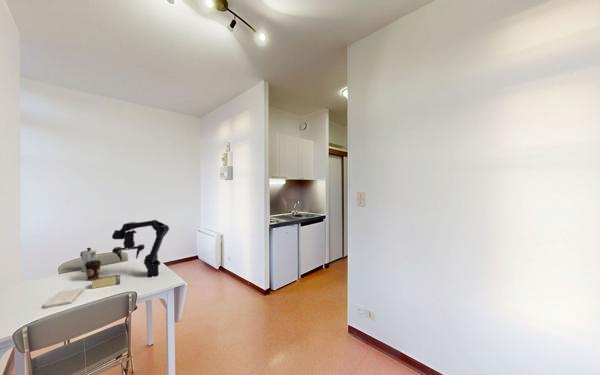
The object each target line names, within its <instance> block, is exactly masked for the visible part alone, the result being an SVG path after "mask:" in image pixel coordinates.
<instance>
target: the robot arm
mask: <svg viewBox="0 0 600 375" xmlns="http://www.w3.org/2000/svg"><path fill="white" fill-rule="evenodd" d="M145 227H151V228H153V230H154V231H155V235H156V237H155V239H154V242H153V245H152V247H151V250H150V253H149V254H147V255H145V256H144V259H143V264H144V267H145V268H146V272H147V274H146V275H147V278H151V277H152V276H153V277H157V276H159V275H160V272H159V266H160V265H161V261H159V259H158V258H159V257H158V252H159V250H160V247H161V245H162V242H163V240H164V237H165V236H166V235H167V233H168V232H169V231H170V227H169V225H167V224H165V223H163V222H161V221H159V220H157V219H153V220H147V221H139V222H136V221H132V222H131V221H130V222H127V223H124V224H122V227H121V228H120V229H116V230H114V232H112V236H111V238H112V239H113V240H124V241H123V246H124V247H121V246H115V247H113V249H112V251H111V252H112V254H114V255H117V257H118V258H119V260H120V261H121V262H122V261H123V255H122V254H123V253H122V251H127V250H128V251H129V250H136V253H135V254H136V255H135V259H136V260H137V259H138V258H139V254H140V253H141V252H142V251H143V250H144V249H145V244H138V245H137V246H136V244H135V243H136V242H135V238H134V237H135V236H134V234H137V231H136V230H135V229H138V228H145Z"/></svg>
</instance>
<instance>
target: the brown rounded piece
mask: <svg viewBox="0 0 600 375" xmlns="http://www.w3.org/2000/svg"><path fill="white" fill-rule="evenodd" d="M101 264H102V261H100V259H95V260H94V261H88V262H86V264H85V266H86V272H85V274H86V278H87V279H86V280H87V281H92V280H94V278H99V277H100V270H101Z"/></svg>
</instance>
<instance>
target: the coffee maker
mask: <svg viewBox="0 0 600 375" xmlns="http://www.w3.org/2000/svg"><path fill="white" fill-rule="evenodd" d="M86 249H87V250H84V251H81V252H80V258H81V260H82V261H83V263H82V268H81V272H82V273H86V266H85V264H86V262H88V261H94V260H96V257H97V251H96V250H92V247H88V248H86Z"/></svg>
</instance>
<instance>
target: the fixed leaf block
mask: <svg viewBox="0 0 600 375" xmlns="http://www.w3.org/2000/svg"><path fill="white" fill-rule="evenodd" d="M117 275H118V274H112V275H106V276H99V278H94V280H98V279H104V278H110V277H116V276H117Z"/></svg>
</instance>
